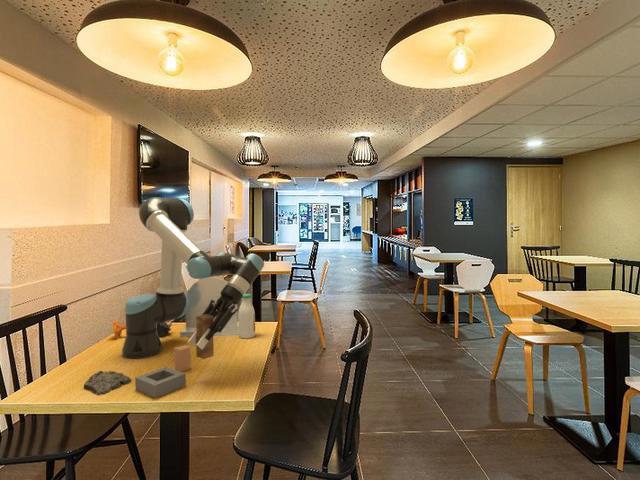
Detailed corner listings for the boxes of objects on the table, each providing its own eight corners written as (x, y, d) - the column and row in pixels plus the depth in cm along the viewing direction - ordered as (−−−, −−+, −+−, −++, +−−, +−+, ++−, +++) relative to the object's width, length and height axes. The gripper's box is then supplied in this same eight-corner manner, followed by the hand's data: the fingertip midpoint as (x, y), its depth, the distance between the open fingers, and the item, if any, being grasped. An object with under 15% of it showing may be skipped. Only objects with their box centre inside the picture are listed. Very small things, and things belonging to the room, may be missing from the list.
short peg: (174, 369, 142) (174, 348, 141) (184, 366, 145) (183, 345, 145) (181, 371, 139) (180, 350, 139) (190, 368, 143) (190, 347, 142)
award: (242, 330, 193) (241, 275, 192) (240, 335, 184) (239, 277, 183) (185, 331, 191) (183, 276, 190) (180, 337, 182) (178, 279, 181)
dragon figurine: (117, 318, 186) (170, 303, 191) (124, 341, 187) (176, 326, 192) (110, 323, 176) (166, 308, 181) (117, 348, 177) (173, 332, 182)
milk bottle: (251, 339, 178) (250, 296, 177) (235, 338, 179) (235, 295, 178) (257, 334, 185) (257, 293, 184) (242, 333, 187) (241, 292, 186)
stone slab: (113, 373, 140) (112, 365, 140) (137, 384, 130) (136, 375, 130) (75, 385, 130) (75, 377, 130) (98, 398, 120) (98, 388, 120)
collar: (135, 389, 125) (135, 377, 125) (166, 378, 134) (165, 366, 134) (155, 398, 118) (154, 385, 118) (185, 385, 127) (185, 373, 127)
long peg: (196, 356, 132) (196, 316, 132) (205, 353, 136) (205, 314, 135) (203, 359, 130) (203, 318, 129) (213, 355, 133) (213, 315, 133)
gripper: (256, 299, 138) (217, 357, 126) (226, 293, 149) (188, 345, 137) (244, 287, 134) (202, 345, 122) (214, 281, 145) (174, 334, 133)
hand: (195, 345), depth 130 cm, fingers closed on long peg, 4 cm apart
